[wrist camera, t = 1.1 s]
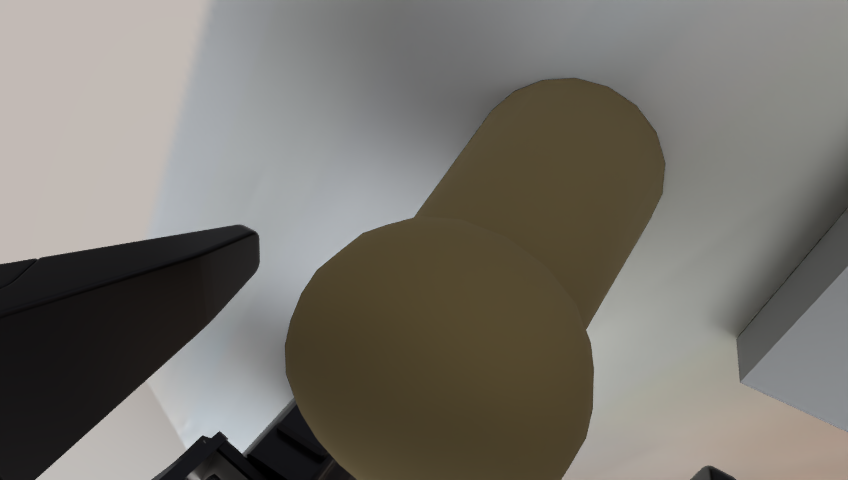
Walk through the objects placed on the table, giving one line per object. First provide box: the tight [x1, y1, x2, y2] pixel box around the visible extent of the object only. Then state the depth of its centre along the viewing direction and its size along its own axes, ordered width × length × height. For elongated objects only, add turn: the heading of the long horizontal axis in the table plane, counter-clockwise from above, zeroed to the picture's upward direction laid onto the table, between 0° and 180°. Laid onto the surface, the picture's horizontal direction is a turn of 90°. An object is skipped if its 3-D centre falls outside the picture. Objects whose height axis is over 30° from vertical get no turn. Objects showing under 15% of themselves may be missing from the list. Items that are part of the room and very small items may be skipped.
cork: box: [285, 78, 665, 480], centre depth 11 cm, size 6×6×11 cm
